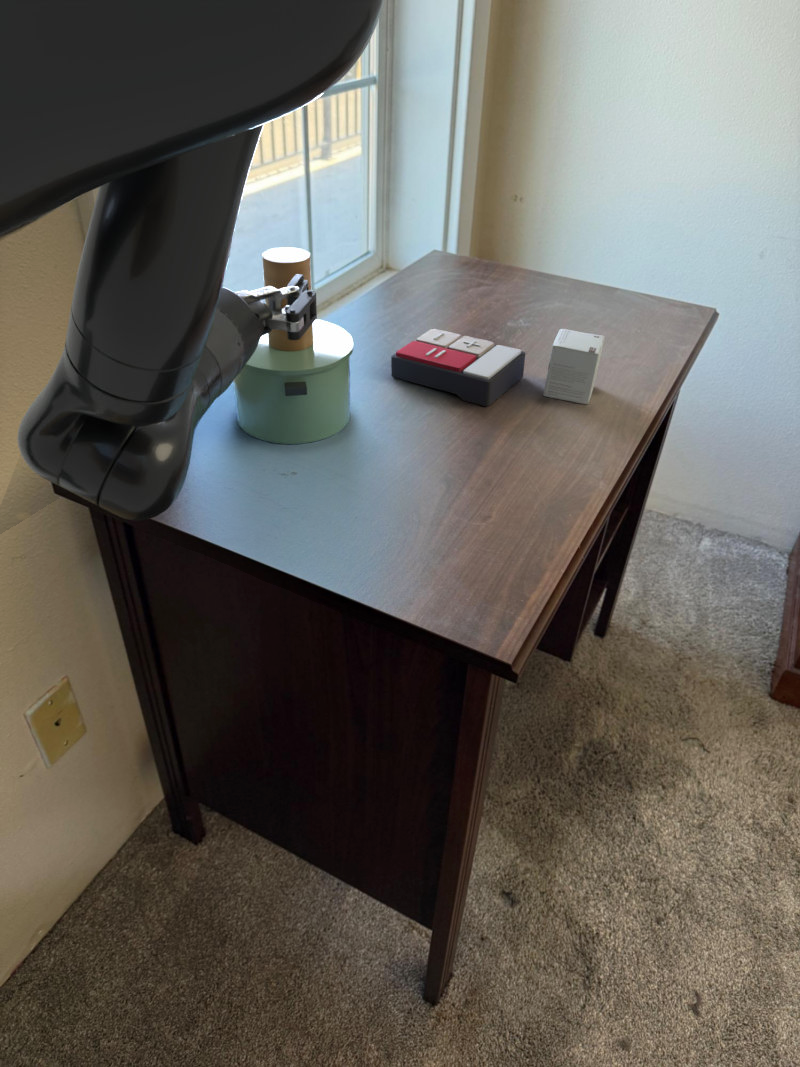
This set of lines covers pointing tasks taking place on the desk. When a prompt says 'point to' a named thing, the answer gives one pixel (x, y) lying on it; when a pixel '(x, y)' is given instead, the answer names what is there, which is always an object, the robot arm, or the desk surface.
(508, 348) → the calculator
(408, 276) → the desk surface
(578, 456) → the desk surface
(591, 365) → the white cardboard box
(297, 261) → the tall wooden cylinder
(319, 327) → the pot
